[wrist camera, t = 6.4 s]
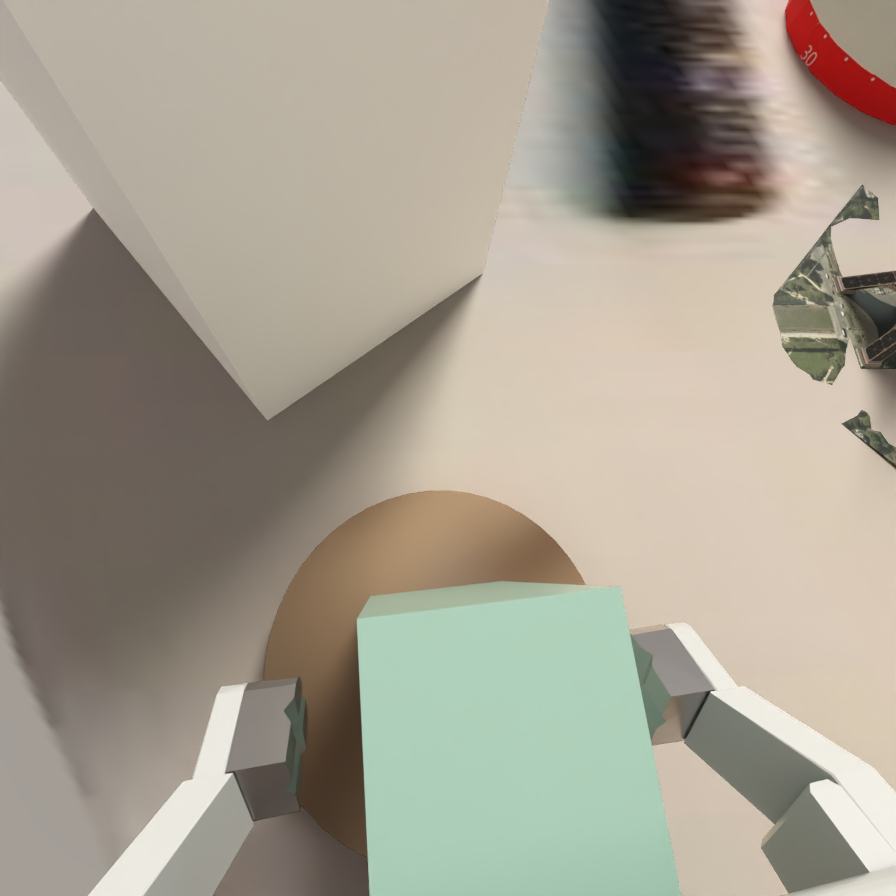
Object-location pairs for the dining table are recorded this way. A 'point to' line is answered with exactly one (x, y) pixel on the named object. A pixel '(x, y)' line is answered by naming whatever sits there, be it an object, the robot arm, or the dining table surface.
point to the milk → (284, 157)
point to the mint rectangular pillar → (508, 745)
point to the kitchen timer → (849, 49)
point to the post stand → (377, 573)
